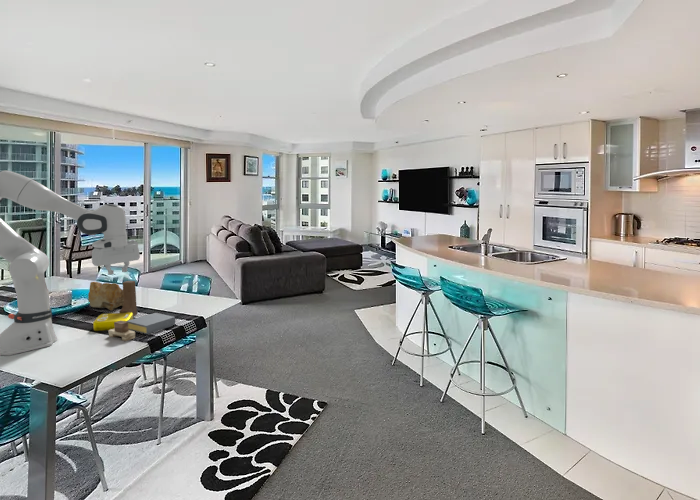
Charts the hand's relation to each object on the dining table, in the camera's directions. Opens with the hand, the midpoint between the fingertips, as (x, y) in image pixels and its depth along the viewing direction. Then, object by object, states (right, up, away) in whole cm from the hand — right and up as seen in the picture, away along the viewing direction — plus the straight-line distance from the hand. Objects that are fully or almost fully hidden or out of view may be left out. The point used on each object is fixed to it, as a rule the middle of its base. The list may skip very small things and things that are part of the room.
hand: (117, 273), depth 193 cm
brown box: (0, -26, +4) cm, 26 cm away
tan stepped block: (0, -29, +4) cm, 29 cm away
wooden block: (-12, -24, +34) cm, 44 cm away
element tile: (-13, -27, +21) cm, 36 cm away
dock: (+6, -27, +19) cm, 33 cm away
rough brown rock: (-30, -22, +52) cm, 64 cm away
